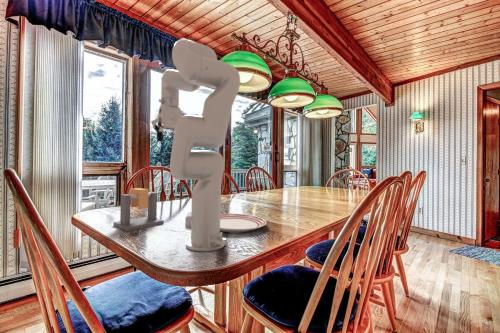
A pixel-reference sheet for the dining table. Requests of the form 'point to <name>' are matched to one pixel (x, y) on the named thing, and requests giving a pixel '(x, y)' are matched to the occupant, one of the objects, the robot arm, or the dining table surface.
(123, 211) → the stand
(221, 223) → the dinner plate
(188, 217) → the charger
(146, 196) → the orange rectangular block
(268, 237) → the dining table surface
